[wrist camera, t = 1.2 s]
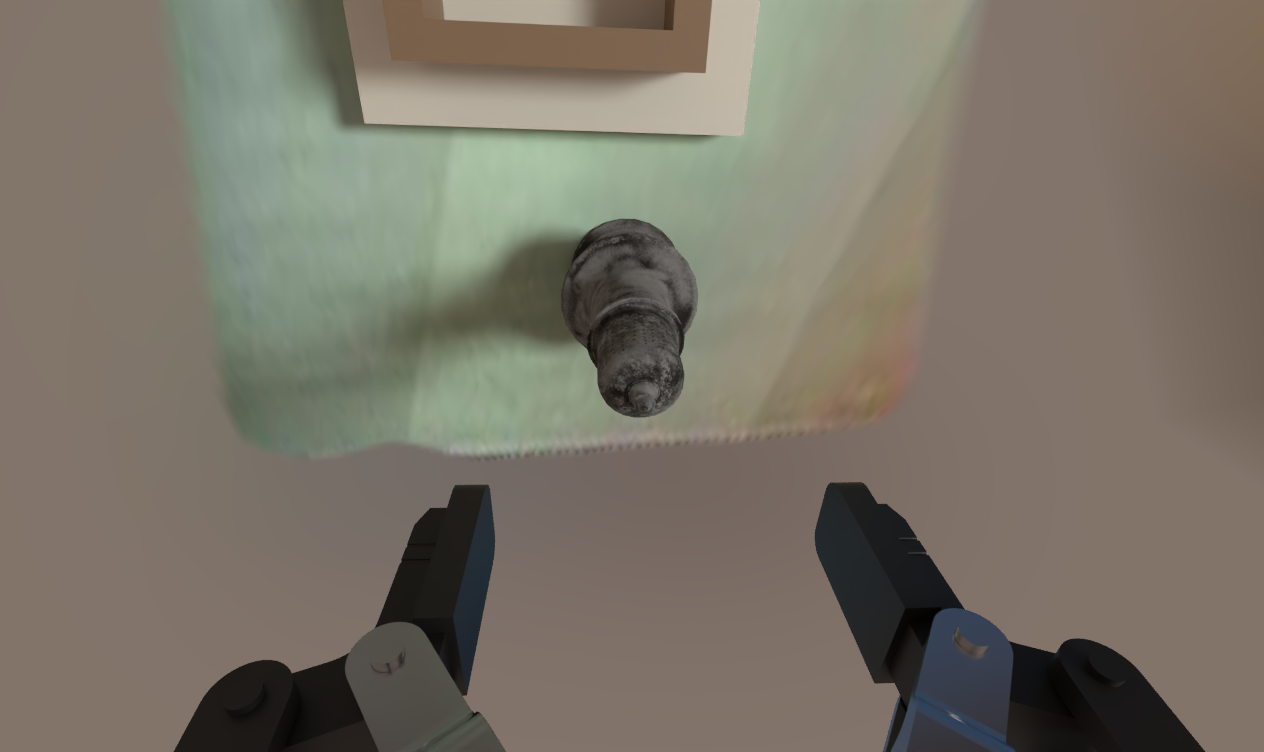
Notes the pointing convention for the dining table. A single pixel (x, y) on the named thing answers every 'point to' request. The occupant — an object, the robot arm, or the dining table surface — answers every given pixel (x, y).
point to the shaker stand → (556, 63)
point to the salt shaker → (631, 313)
